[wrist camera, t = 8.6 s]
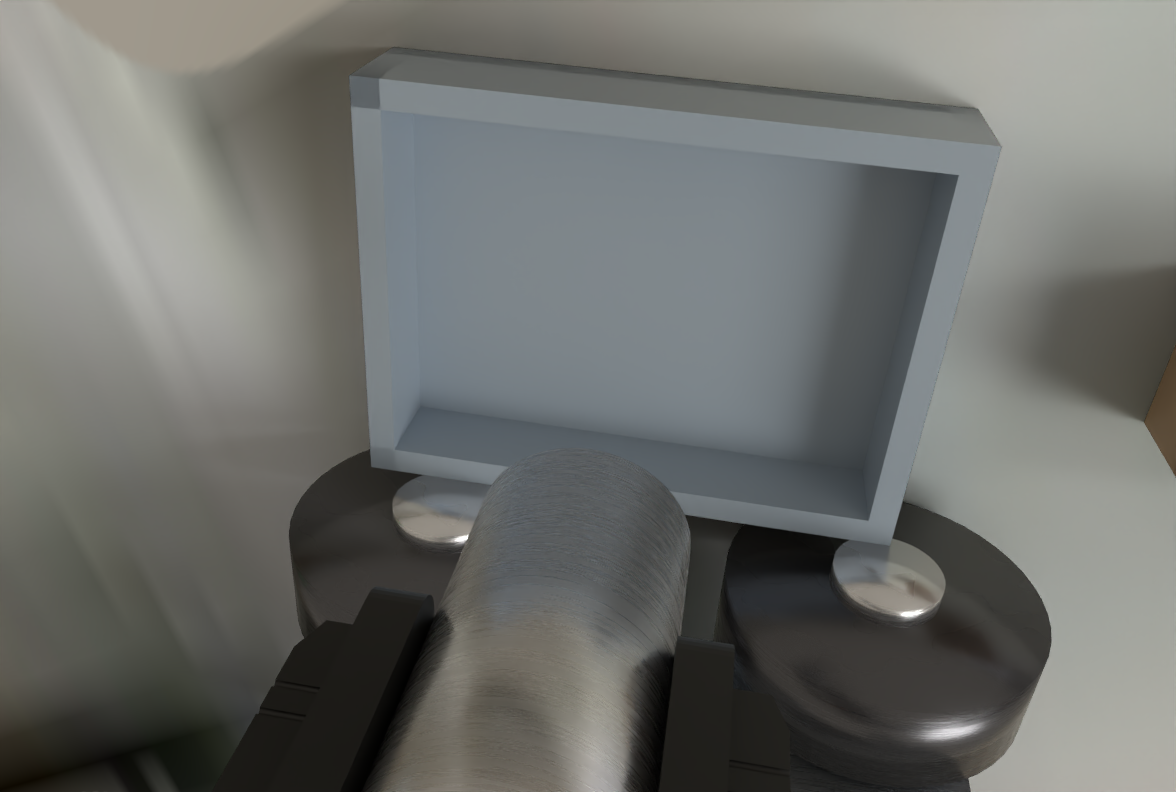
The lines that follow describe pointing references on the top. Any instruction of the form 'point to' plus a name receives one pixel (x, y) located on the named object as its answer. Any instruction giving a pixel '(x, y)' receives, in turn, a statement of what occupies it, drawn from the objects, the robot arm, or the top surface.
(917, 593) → the trolley
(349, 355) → the top surface
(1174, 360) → the block
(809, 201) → the tray
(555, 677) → the pin
